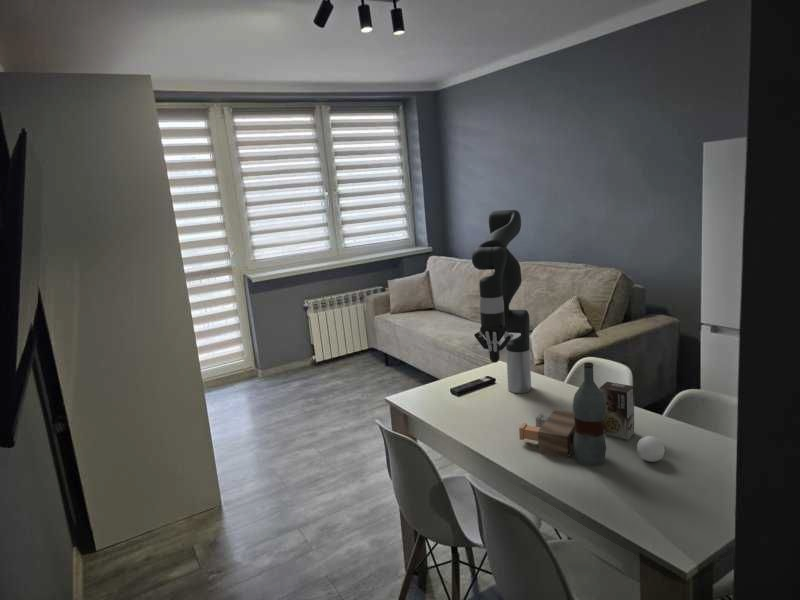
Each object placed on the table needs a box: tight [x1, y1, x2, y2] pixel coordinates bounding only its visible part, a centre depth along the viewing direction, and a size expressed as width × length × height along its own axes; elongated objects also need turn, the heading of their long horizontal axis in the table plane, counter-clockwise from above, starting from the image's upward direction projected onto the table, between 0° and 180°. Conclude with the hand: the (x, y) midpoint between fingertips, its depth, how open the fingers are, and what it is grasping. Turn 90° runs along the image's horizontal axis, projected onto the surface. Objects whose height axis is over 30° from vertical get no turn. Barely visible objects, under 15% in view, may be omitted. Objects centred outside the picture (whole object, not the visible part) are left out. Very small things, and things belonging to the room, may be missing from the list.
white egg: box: [634, 435, 665, 463], centre depth 157 cm, size 10×7×7 cm
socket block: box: [537, 408, 575, 458], centre depth 170 cm, size 18×9×7 cm, turn 148°
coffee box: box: [598, 381, 635, 440], centre depth 172 cm, size 9×6×16 cm
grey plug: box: [535, 412, 550, 428], centre depth 175 cm, size 4×13×4 cm, turn 58°
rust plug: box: [518, 422, 540, 442], centre depth 169 cm, size 4×13×4 cm, turn 58°
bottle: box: [572, 361, 607, 467], centre depth 157 cm, size 9×9×30 cm
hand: (494, 361), depth 172 cm, fingers closed
